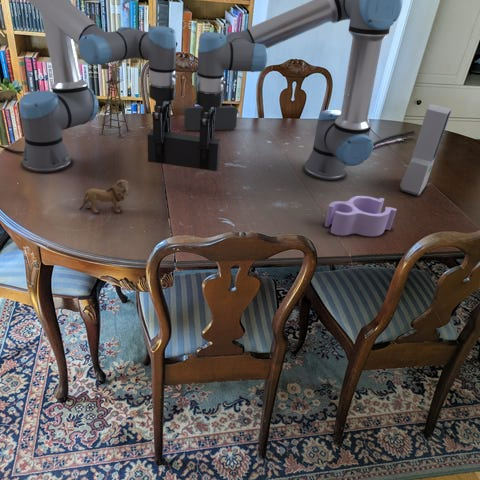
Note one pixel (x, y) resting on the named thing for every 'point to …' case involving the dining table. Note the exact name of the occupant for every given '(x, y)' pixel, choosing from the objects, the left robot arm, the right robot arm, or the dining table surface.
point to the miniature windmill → (112, 82)
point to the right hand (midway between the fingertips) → (205, 164)
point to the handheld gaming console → (223, 118)
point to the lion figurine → (107, 195)
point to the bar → (184, 150)
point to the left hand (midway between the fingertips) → (162, 158)
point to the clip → (359, 216)
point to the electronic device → (425, 149)
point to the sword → (390, 142)
